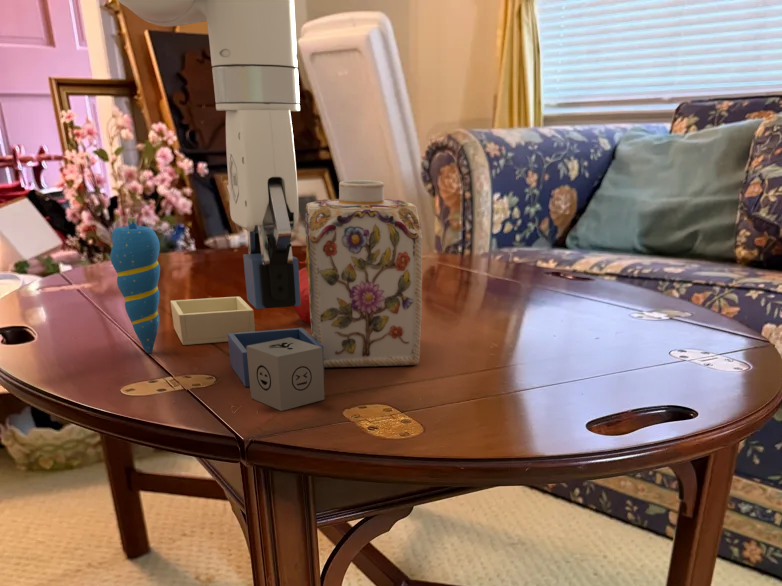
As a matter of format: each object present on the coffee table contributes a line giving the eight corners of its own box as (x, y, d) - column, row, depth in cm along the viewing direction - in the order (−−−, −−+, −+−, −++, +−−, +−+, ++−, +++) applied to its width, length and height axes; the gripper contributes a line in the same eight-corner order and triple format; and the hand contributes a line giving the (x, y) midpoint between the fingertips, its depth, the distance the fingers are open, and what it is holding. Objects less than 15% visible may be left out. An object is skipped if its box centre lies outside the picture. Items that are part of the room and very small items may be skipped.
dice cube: (293, 387, 76) (290, 337, 74) (324, 399, 73) (322, 347, 70) (250, 397, 73) (246, 345, 70) (281, 411, 70) (277, 356, 67)
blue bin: (245, 387, 76) (242, 352, 74) (230, 365, 82) (227, 333, 81) (324, 379, 78) (323, 345, 77) (304, 359, 85) (302, 327, 83)
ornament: (147, 345, 90) (126, 207, 82) (183, 350, 88) (165, 209, 81) (116, 356, 85) (92, 211, 78) (154, 361, 84) (132, 213, 76)
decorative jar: (406, 340, 93) (409, 177, 84) (422, 366, 83) (426, 185, 74) (308, 342, 92) (300, 177, 83) (312, 369, 82) (303, 185, 73)
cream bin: (182, 345, 90) (178, 315, 88) (174, 328, 97) (170, 300, 95) (255, 339, 93) (253, 309, 91) (242, 323, 100) (239, 296, 98)
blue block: (256, 309, 75) (252, 260, 72) (247, 300, 78) (242, 254, 76) (301, 305, 76) (298, 258, 74) (290, 297, 80) (287, 252, 77)
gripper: (200, 94, 74) (221, 289, 83) (232, 88, 60) (253, 322, 69) (276, 96, 76) (289, 284, 85) (323, 90, 63) (333, 316, 71)
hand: (273, 299), depth 77 cm, fingers closed on blue block, 4 cm apart
